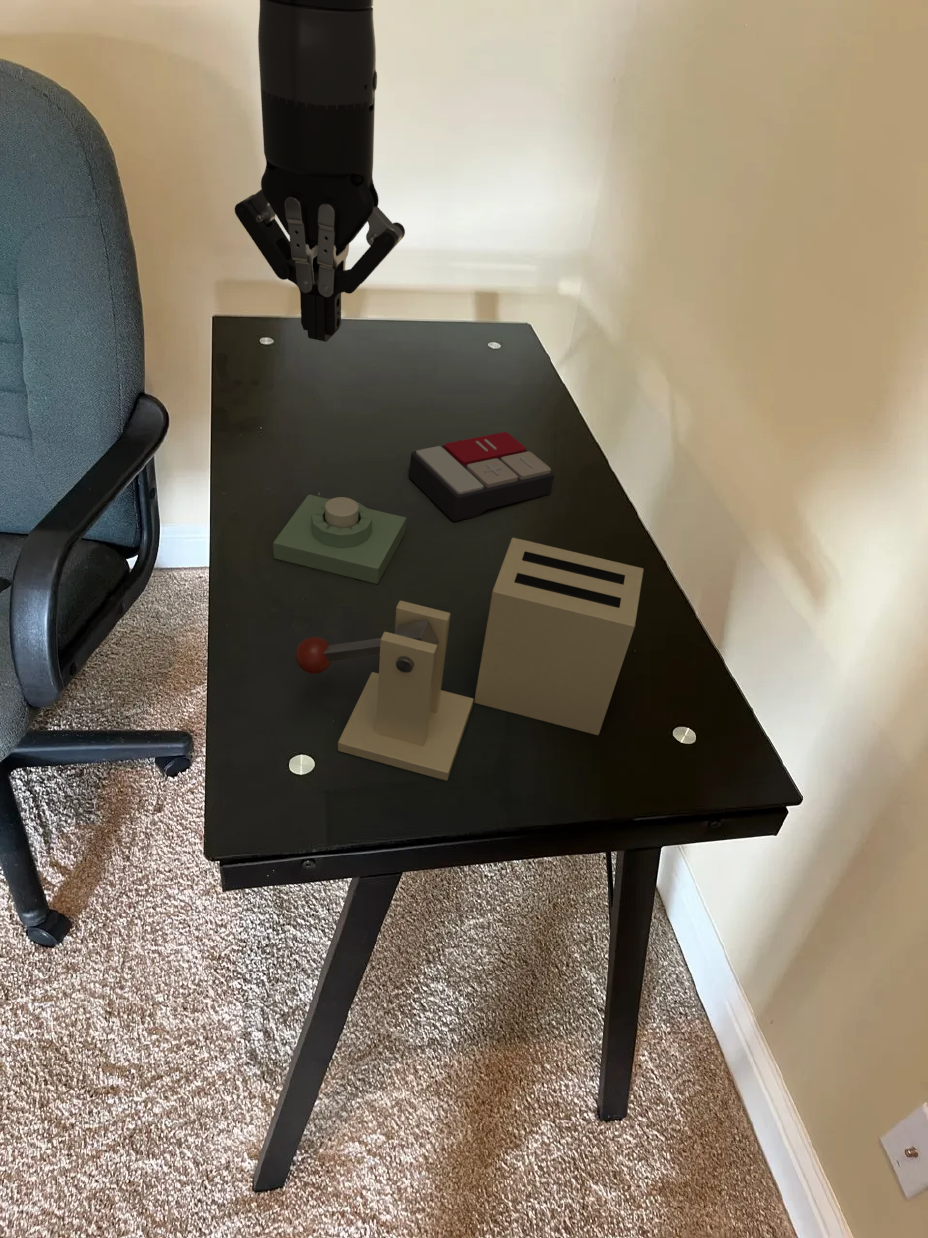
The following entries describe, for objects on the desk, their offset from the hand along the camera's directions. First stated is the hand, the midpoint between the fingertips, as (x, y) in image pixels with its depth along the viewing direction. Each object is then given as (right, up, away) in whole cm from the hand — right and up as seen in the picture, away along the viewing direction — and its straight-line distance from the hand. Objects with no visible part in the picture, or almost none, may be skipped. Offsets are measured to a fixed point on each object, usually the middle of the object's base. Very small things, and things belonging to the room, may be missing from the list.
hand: (321, 336), depth 66 cm
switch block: (-2, -14, +27) cm, 31 cm away
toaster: (+19, -30, +14) cm, 38 cm away
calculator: (+14, -6, +39) cm, 42 cm away
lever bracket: (+6, -33, +8) cm, 34 cm away
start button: (-2, -12, +25) cm, 27 cm away
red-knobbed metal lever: (+3, -27, +4) cm, 27 cm away
